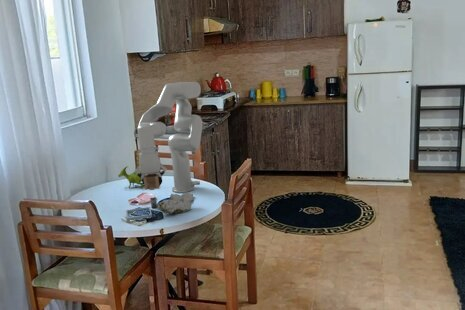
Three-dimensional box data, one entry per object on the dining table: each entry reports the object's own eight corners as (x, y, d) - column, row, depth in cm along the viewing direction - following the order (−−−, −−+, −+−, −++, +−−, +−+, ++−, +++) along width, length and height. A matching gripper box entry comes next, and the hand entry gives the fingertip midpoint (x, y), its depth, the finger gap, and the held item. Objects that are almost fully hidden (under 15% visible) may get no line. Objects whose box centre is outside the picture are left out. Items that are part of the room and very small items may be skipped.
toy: (133, 191, 275) (118, 171, 273) (161, 173, 270) (146, 152, 268) (128, 196, 267) (113, 175, 265) (157, 177, 262) (142, 156, 260)
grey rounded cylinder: (156, 206, 231) (155, 196, 230) (157, 207, 229) (156, 198, 228) (151, 206, 231) (149, 197, 230) (151, 208, 228) (150, 198, 227)
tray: (150, 210, 225) (150, 206, 225) (152, 218, 214) (151, 214, 214) (126, 214, 223) (125, 210, 222) (126, 222, 212) (126, 218, 211)
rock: (171, 226, 216) (167, 212, 209) (157, 216, 222) (153, 202, 216) (201, 204, 225) (197, 189, 219) (186, 195, 232) (183, 180, 225)
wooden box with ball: (146, 185, 231) (145, 173, 230) (160, 183, 232) (159, 172, 230) (144, 190, 223) (142, 178, 222) (158, 189, 223) (157, 177, 222)
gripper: (166, 146, 227) (170, 180, 232) (131, 150, 227) (136, 184, 231) (165, 150, 220) (169, 185, 224) (128, 153, 219) (134, 189, 224)
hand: (152, 184), depth 228 cm, fingers closed on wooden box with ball, 7 cm apart
